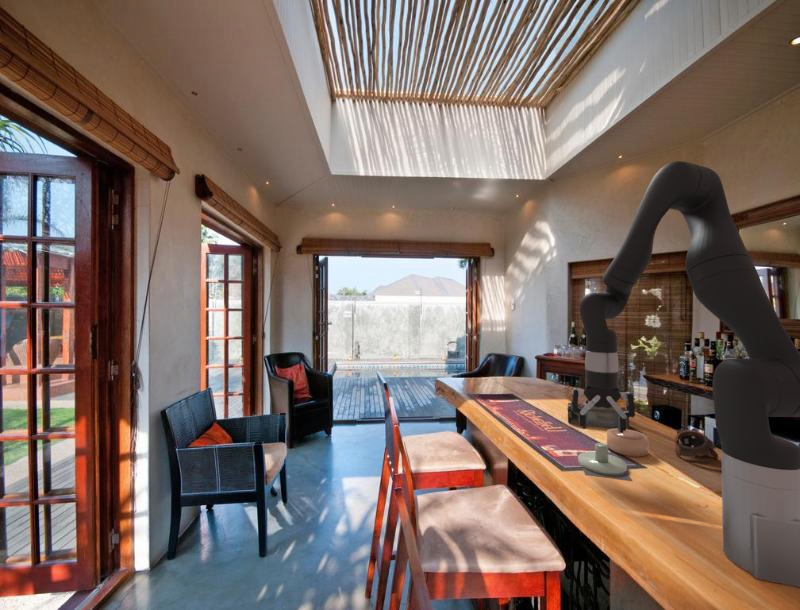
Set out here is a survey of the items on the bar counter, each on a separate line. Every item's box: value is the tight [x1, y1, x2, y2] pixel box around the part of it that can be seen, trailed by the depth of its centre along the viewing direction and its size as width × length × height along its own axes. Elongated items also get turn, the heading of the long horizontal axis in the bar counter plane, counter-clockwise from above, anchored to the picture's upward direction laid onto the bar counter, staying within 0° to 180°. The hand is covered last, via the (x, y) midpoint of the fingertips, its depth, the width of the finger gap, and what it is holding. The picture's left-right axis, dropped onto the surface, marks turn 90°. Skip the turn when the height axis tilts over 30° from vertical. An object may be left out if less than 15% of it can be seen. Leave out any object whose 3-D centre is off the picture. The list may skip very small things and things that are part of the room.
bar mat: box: [576, 451, 633, 482], centre depth 90 cm, size 14×10×1 cm
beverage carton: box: [566, 402, 630, 430], centre depth 124 cm, size 8×19×7 cm, turn 64°
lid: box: [577, 442, 628, 475], centre depth 90 cm, size 11×11×5 cm
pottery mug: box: [674, 428, 719, 461], centre depth 97 cm, size 12×10×8 cm
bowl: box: [606, 428, 649, 458], centre depth 99 cm, size 10×10×5 cm
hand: (601, 429), depth 90 cm, fingers open, 8 cm apart
